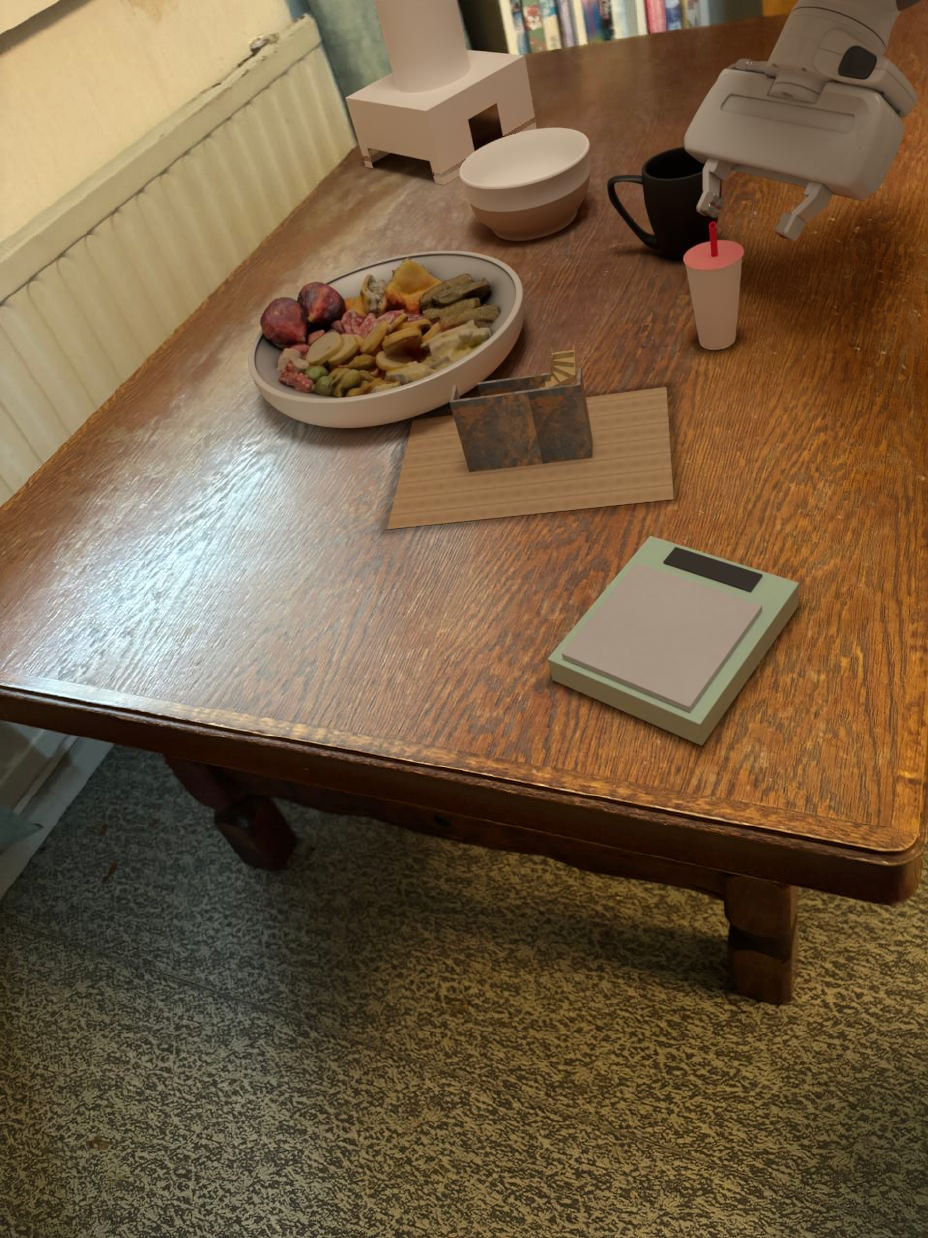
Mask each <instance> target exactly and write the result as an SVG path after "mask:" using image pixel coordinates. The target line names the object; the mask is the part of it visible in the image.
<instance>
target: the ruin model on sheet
mask: <svg viewBox="0 0 928 1238" xmlns="http://www.w3.org/2000/svg"><path fill="white" fill-rule="evenodd" d="M575 346H576V345H573V349H570V350H562V351H556V352H555V351H554V350H553V347H551V356H548V359H549V364H550V365H549V366H550V372H544V373H538V374H530V375H523V376H522V375H521V376H515V377H508V378H500V379H493V380H485V381H482V382H478V383H477V385H476V386H477V389H478V394H479V396H475V397H466V398H461V396H459V393H458V390H457V386H456V385H454V386H453V388H452V394H451V399H450V402H449V405H450V409H451V413H452V414H451V415H443V416H435V417H427V418H421V419H414V420H412V423H411V428H410V430H409V435H408V438H407V444H406V448H405V452H404V457H403V461H402V465H401V468H400V473H399V477H398V482H397V484H396V485H397V486H396V490H395V494H394V497H393V502H392V507H391V511H390V515H389V519H388V524H387V527H386V530H393V529H403V528H413V527H422V526H423V527H424V526H431V525H441V524H449V523H451V524H452V523H461V522H470V521H479V520H489V519H490V520H491V519H497V518H498V519H499V518H509V517H517V516H518V517H519V516H527V515H535V514H537V515H538V514H546V513H555V512H566V511H574V510H583V509H592V508H601V507H612V506H613V507H614V506H620V505H621V506H622V505H630V504H642V503H650V502H660V501H668V500H674V499H675V498H674V497H675V496H674V484H673V469H672V454H671V453H672V452H671V451H672V449H671V438H670V437H671V436H670V423H669V406H668V405H669V404H668V390H667V389H668V388H667V386H662V387H655V388H647V389H641V390H633V391H623V392H617V393H608V394H601V395H594V396H587V395H586V389H585V383H584V378H583V371H582V367H578V368H577V359H576V357H577V356H576V350H575V349H576V347H575ZM575 382H576V383H575Z"/></svg>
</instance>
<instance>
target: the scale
mask: <svg viewBox="0 0 928 1238" xmlns="http://www.w3.org/2000/svg"><path fill="white" fill-rule="evenodd" d="M799 603H800V582H798V581H795V580H791V579H789V578H785V577H783V576H779V575H776V574H772V573H770V572H766V571H764V570H761V569H757V568H754V567H750V566H748V565H744V564H741V563H738V562H735V561H732V560H728V559H726V558H722V557H719V556H716V555H712V554H710V553H706V552H703V551H701V550H697V549H694V548H691V547H687V546H684V545H682V544H678V543H675V542H672V541H670V540H665V539H662V538H659V537H656V536H652V535H649V536H648V537H647V539H646V540H645V541H644V543H643V544H641V546H640V547H639V549H638V550H637V551H636V552H635V553H634V554H633V555H632V557H631V558H630V559H629V560H628V561H627V563H626V564H625V565H624V566H623V568H621V570H620V571H619V572H618V574H617V575H616V576H615V577H614V578H613V579H612V581H611V582H610V583H609V584H608V585H607V587H606V588H605V589H604V591H602V593H601V594H600V595H599V596H598V597H597V599H596V600H595V601H594V602H593V604H592V605H591V606H590V607H589V608H588V609H587V610H586V612H585V613H584V614H583V615H582V617H581V618H580V619H579V620H578V621H577V622H576V623H575V625H574V626H573V627H572V629H570V631H569V632H568V633H567V634H566V636H565V637H564V638H563V639H562V641H561V642H560V643H559V644H558V646H557V647H556V648H555V649H554V650H553V651H552V653H551V654H550V655H549V656H548V657H547V663H548V667H549V672H550V675H551V680H552V681H554V682H556V683H558V684H560V685H562V686H565V687H566V688H567V687H568V688H569V689H572V690H574V691H576V692H579V693H581V694H582V695H585V696H588V697H590V698H592V699H594V700H596V701H599V702H601V703H604V704H606V705H608V706H609V707H613V708H615V709H617V710H619V711H622V712H624V713H626V714H629V715H631V716H633V717H635V718H638V719H640V720H642V721H645V722H647V723H649V724H651V725H654V726H656V727H657V728H660V729H662V730H665V731H667V732H669V733H671V734H674V735H676V736H678V737H681V738H682V739H685V740H687V741H690V742H692V743H695V744H696V745H700V746H703V745H704V744H705V742H706V741H707V740H708V738H709V736H710V735H711V734H712V733H713V731H714V729H715V728H716V726H717V725H718V724H719V722H720V721H721V719H722V718H723V716H724V715H725V713H726V712H727V711H728V710H729V708H730V706H731V705H732V703H733V702H734V700H735V699H736V698H737V696H738V695H739V693H740V692H741V690H742V689H743V687H744V686H745V684H746V683H747V681H748V680H749V679H750V677H751V676H752V674H753V673H754V671H755V670H756V669H757V667H758V666H759V664H760V663H761V661H762V660H763V659H764V657H765V655H766V654H767V653H768V651H769V650H770V648H771V647H772V646H773V644H774V642H775V641H776V639H777V638H778V637H779V635H780V634H781V632H782V631H783V629H784V628H785V626H786V625H787V624H788V622H789V621H790V620H791V617H792V616H793V615H794V613H795V612H796V610H797V609H798V607H799Z"/></svg>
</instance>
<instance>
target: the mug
mask: <svg viewBox="0 0 928 1238" xmlns="http://www.w3.org/2000/svg"><path fill="white" fill-rule="evenodd" d="M704 166H705V164H703V163H701V162H699V161H698V160H696V159H695V158H694V157H692V156H691V155H690V154H689V153H687V152H686V150H685V146H679V147H675V148H670V149H667V150H664V151H662V152H659V153H657V154H655V155H653V156H651V157H650V158H649V159H647V160H646V161H645V162H644V163H643V165H642V167H641V171H640V172H641V174H620V175H619V174H618V175H613V176H611V177H610V178H609V179H608V181H607V182H606V189H607V195H608V199H609V201H610V203H611V204H612V206H613V208H614V209H615V210H616V212H617V213H618V214H619V216H620V217H621V218H622V219H623V221H624V222H625V223H626V225H627V226H628V227H629V228H630V230H631V231H632V233H634V235H636V237H637V238H638V239H639V240H640V241H641V242H642V243H643V244H644V245H645V246H647V247H648V248H650V249H654V250H659V249H660V252H661V255H662V256H663V257H664V258H666V259H670V260H672V261H673V260H674V261H683V257H684V255H685V253H686V252H687V251H688V250H690V249H691V248H693V247H694V246H696V245H699V244H702V243H705V242H709V241H710V231H709V225H710V223H711V222H715V223H716V226H717V224H718V220H719V215H718V216H717V218H711V217H707V216H704V215H702V214H700V213H699V212H698V211H697V209H696V207H697V204H698V202H699V200H700V198H701V196H702V193H703V168H704ZM617 183H634V184H637V185H641V186H642V194H643V201H644V206H645V210H646V214H647V218H648V221H649V223H650V227H651V229H652V232H653V234H652V233H650V232H647V231H646V230H644V229H643V228H642V227H641V226H640V225H639V224H638V223H637V222H636V221H635V220H634V218H633V217H632V216H631V215H630V213H629V212H628V211H627V209H626V208H625V207H624V205H623V204H622V202H621V200H620V198H619V197H618V194H617V192H616V187H615V184H617ZM722 191H723V181H722V180H720V192H719V198H721V199H722Z"/></svg>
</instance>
